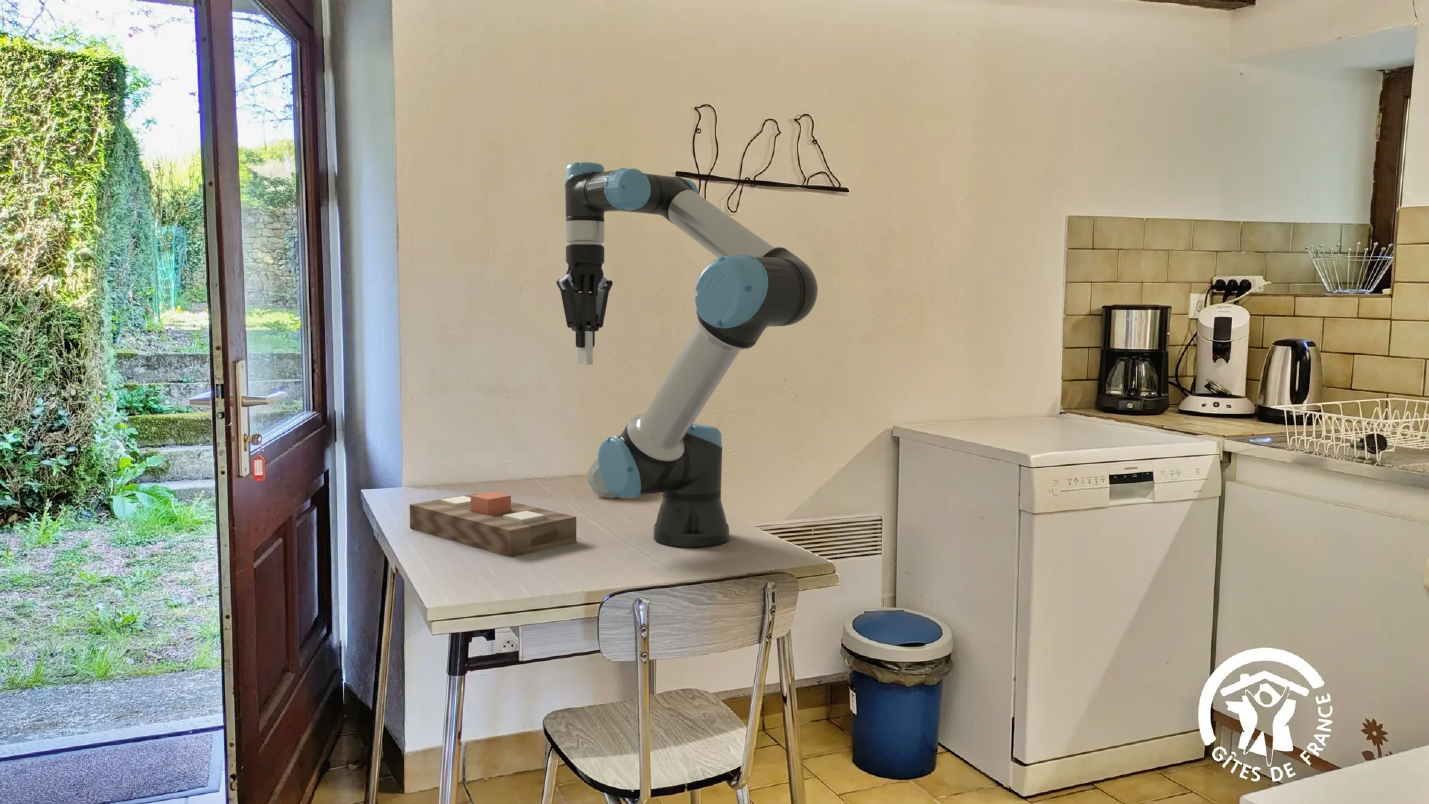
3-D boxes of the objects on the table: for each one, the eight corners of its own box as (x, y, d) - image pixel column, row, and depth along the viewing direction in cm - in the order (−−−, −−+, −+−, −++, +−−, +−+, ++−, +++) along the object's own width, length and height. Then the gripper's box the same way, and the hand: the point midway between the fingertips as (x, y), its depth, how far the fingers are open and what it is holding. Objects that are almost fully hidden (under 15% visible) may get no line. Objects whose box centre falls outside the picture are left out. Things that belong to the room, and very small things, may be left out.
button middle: (511, 517, 200) (510, 495, 199) (488, 522, 195) (487, 499, 195) (493, 513, 203) (493, 491, 203) (470, 517, 199) (470, 495, 199)
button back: (479, 520, 207) (479, 499, 206) (456, 525, 202) (456, 503, 202) (463, 516, 210) (463, 495, 210) (440, 521, 206) (440, 499, 206)
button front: (545, 537, 193) (544, 514, 193) (521, 542, 189) (521, 519, 188) (526, 533, 197) (526, 510, 196) (503, 538, 192) (503, 515, 192)
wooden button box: (576, 541, 195) (576, 516, 194) (510, 557, 183) (509, 530, 182) (475, 516, 216) (474, 493, 216) (410, 528, 204) (409, 504, 204)
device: (626, 500, 235) (626, 458, 234) (586, 498, 237) (586, 456, 236) (659, 479, 265) (660, 442, 264) (623, 477, 267) (624, 440, 266)
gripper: (596, 246, 203) (596, 361, 205) (546, 242, 193) (547, 364, 195) (622, 245, 198) (622, 363, 200) (572, 241, 188) (572, 366, 190)
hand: (585, 364), depth 198 cm, fingers closed
